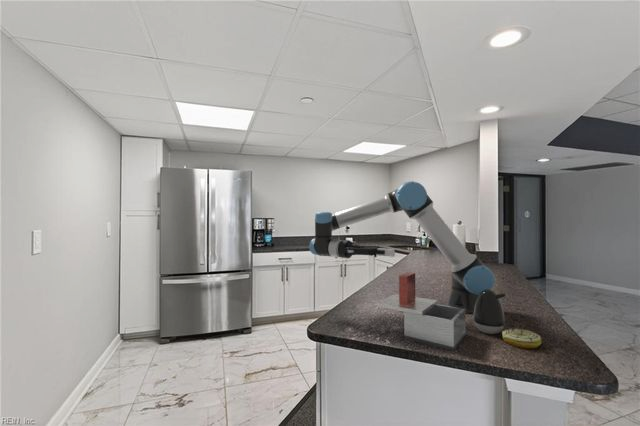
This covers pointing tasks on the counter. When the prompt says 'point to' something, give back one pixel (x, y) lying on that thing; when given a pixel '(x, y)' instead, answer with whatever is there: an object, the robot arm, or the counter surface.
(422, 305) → the lid
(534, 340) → the decorated donut
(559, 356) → the counter surface
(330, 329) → the counter surface
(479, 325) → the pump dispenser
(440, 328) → the grey storage bin
